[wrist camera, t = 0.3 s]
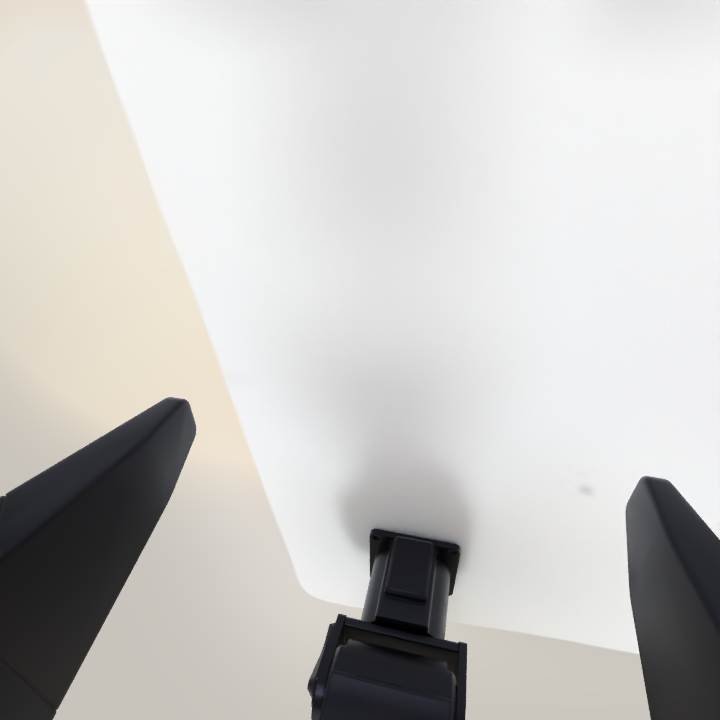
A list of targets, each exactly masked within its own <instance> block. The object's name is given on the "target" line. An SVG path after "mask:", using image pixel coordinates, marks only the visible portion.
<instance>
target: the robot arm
mask: <svg viewBox="0 0 720 720" xmlns="http://www.w3.org/2000/svg"><path fill="white" fill-rule="evenodd" d="M195 435H196V424H195V421H194V418H193V414H192V411H191V408H190V404H189V402H188V401H187V400H185V399H179V398H173V397H169V398H166V399H164V400H162V401H160V402H159V403H157V404H155V405H154V406H152V407H151V408H149V409H147V410H146V411H144V412H142V413H140V414H139V415H137V416H135V417H134V418H132V419H131V420H129V421H127V422H125V423H124V424H122V425H120V426H119V427H117V428H115V429H114V430H112V431H110V432H109V433H107V434H105V435H104V436H102V437H100V438H99V439H97V440H95V441H94V442H92V443H90V444H89V445H87V446H85V447H84V448H82V449H80V450H78V451H77V452H75V453H74V454H72V455H70V456H68V457H67V458H65V459H63V460H62V461H60V462H58V463H57V464H55V465H54V466H52V467H50V468H48V469H47V470H45V471H43V472H42V473H40V474H38V475H37V476H35V477H33V478H32V479H30V480H28V481H27V482H25V483H23V484H22V485H20V486H18V487H17V488H15V489H13V490H12V491H10V492H8V493H7V494H6V496H1V497H0V720H52V719H53V718H54V716H55V714H56V710H57V709H58V708H59V706H60V704H61V702H62V700H63V698H64V696H65V695H66V693H67V691H68V689H69V687H70V685H71V683H72V682H73V680H74V678H75V676H76V674H77V672H78V670H79V668H80V667H81V664H82V663H83V661H84V659H85V657H86V655H87V653H88V651H89V650H90V648H91V646H92V644H93V642H94V640H95V638H96V637H97V634H98V633H99V631H100V629H101V627H102V625H103V624H104V622H105V620H106V618H107V616H108V614H109V612H110V610H111V609H112V607H113V605H114V603H115V601H116V599H117V597H118V595H119V593H120V592H121V590H122V588H123V586H124V584H125V582H126V580H127V578H128V577H129V575H130V573H131V571H132V569H133V567H134V565H135V564H136V562H137V560H138V558H139V556H140V554H141V552H142V550H143V549H144V546H145V545H146V543H147V541H148V539H149V537H150V535H151V534H152V532H153V530H154V528H155V526H156V524H157V522H158V521H159V518H160V517H161V515H162V513H163V511H164V509H165V507H166V505H167V503H168V501H169V499H170V497H171V495H172V493H173V490H174V488H175V485H176V483H177V480H178V478H179V475H180V473H181V470H182V468H183V465H184V463H185V460H186V458H187V455H188V453H189V450H190V448H191V446H192V443H193V441H194V438H195ZM626 532H627V552H628V573H629V589H630V598H631V605H632V611H633V617H634V623H635V629H636V635H637V641H638V646H639V652H640V658H641V664H642V669H643V676H644V681H645V687H646V693H647V699H648V705H649V711H650V716H651V720H720V540H719V539H718V537H717V536H716V535H715V534H714V533H713V532H712V530H711V529H710V528H709V527H708V526H707V525H706V523H705V522H704V521H703V520H702V519H701V517H700V516H699V515H698V514H697V513H696V512H695V510H694V509H693V508H692V507H691V506H690V505H689V503H688V502H687V501H686V500H685V499H684V497H683V496H682V495H681V494H680V493H679V492H678V490H677V489H676V488H675V487H674V486H673V484H672V483H671V482H669V481H668V480H666V479H662V478H655V477H649V476H644V477H642V478H641V479H640V480H639V482H638V484H637V486H636V488H635V490H634V491H633V493H632V495H631V497H630V499H629V501H628V503H627V506H626ZM459 557H460V547H459V546H458V545H456V544H452V543H447V542H442V541H437V540H431V539H426V538H421V537H416V536H411V535H405V534H400V533H395V532H390V531H384V530H379V529H373V530H371V533H370V582H369V587H368V591H367V596H366V600H365V604H364V609H363V614H362V618H361V620H357V619H353V618H349V617H346V615H342V614H338V617H337V620H336V623H333V624H330V626H329V629H328V633H327V636H326V640H325V644H324V647H323V650H322V652H321V655H320V657H319V659H318V661H317V664H316V666H315V668H314V670H313V673H312V675H311V677H310V680H309V683H308V691H309V693H310V695H311V698H312V717H311V718H312V720H465V709H466V670H467V644H466V643H463V642H459V643H456V642H451V641H447V640H444V636H445V626H446V616H447V606H448V596H450V595H452V594H453V589H454V583H455V578H456V573H457V567H458V562H459Z"/></svg>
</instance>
